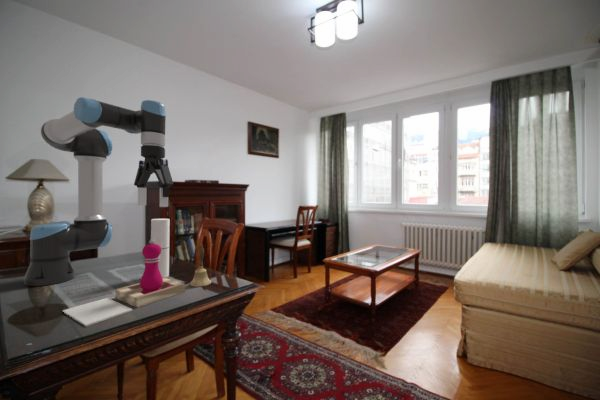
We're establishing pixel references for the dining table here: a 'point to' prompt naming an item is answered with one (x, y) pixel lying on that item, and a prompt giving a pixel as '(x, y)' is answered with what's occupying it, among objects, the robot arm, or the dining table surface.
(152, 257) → the pepper mill
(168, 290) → the maple frame
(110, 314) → the plastic pad
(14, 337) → the dining table surface
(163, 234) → the cylindrical container
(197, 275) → the hand bell
